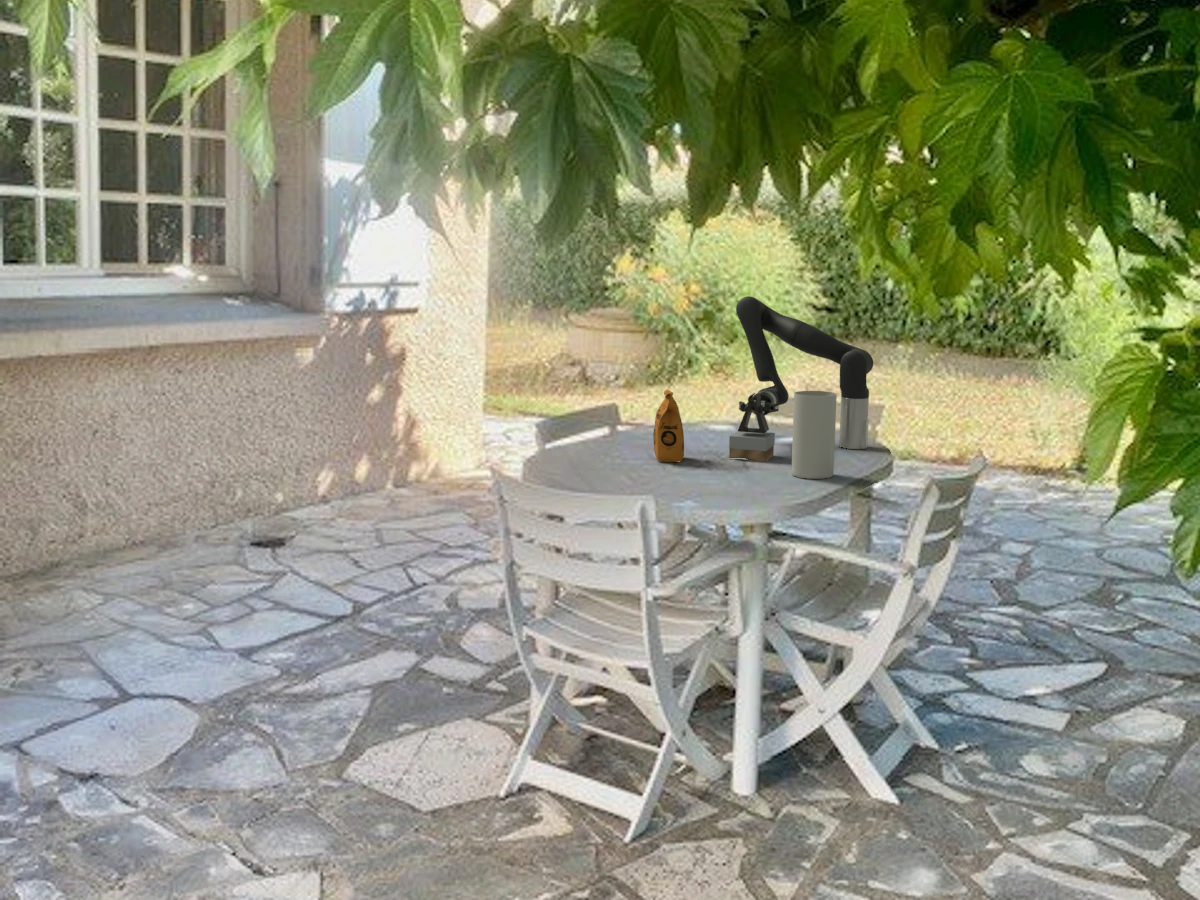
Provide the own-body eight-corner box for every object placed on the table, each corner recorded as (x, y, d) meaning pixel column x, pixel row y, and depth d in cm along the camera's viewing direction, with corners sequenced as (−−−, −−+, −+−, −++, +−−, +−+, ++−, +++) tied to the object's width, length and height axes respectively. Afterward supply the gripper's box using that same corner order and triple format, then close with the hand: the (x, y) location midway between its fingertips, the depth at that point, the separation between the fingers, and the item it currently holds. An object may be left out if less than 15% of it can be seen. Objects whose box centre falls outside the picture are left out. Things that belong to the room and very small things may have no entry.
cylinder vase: (829, 481, 370) (832, 397, 366) (787, 477, 375) (790, 394, 370) (836, 473, 382) (840, 391, 377) (796, 470, 386) (798, 389, 382)
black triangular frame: (737, 431, 405) (738, 394, 402) (741, 428, 410) (742, 392, 408) (765, 433, 402) (766, 396, 400) (769, 430, 407) (770, 393, 405)
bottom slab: (773, 456, 412) (773, 444, 411) (766, 463, 401) (766, 450, 400) (737, 454, 416) (737, 442, 415) (729, 460, 405) (729, 448, 404)
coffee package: (652, 462, 398) (653, 393, 394) (653, 455, 410) (654, 388, 406) (684, 463, 397) (685, 394, 393) (683, 456, 409) (685, 389, 405)
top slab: (774, 444, 411) (774, 432, 410) (765, 451, 400) (766, 438, 399) (738, 442, 415) (739, 430, 414) (729, 448, 404) (729, 436, 403)
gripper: (742, 390, 420) (731, 397, 404) (784, 392, 416) (774, 399, 399) (742, 413, 421) (730, 420, 405) (784, 415, 417) (774, 423, 401)
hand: (752, 410), depth 402 cm, fingers open, 3 cm apart
